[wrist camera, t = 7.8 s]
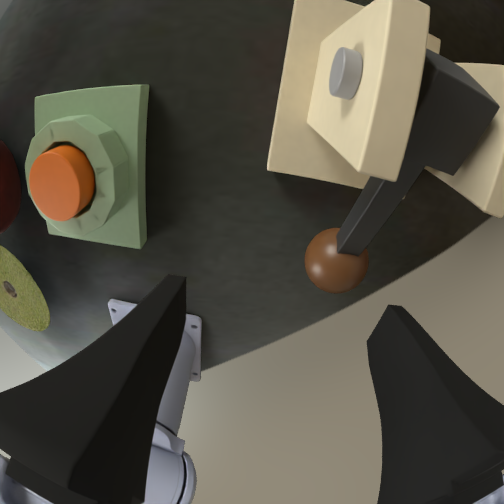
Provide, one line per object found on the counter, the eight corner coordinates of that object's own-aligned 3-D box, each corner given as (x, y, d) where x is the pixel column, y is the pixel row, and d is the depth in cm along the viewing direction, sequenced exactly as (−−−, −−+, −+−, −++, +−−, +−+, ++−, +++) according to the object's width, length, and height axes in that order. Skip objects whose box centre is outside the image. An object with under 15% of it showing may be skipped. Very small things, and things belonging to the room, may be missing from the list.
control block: (147, 240, 18) (130, 266, 16) (57, 226, 18) (34, 246, 15) (149, 84, 13) (125, 85, 10) (45, 94, 13) (15, 101, 10)
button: (98, 213, 14) (84, 225, 13) (49, 207, 14) (34, 218, 13) (94, 144, 12) (77, 151, 11) (42, 145, 12) (25, 153, 11)
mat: (-25, 243, 20) (-36, 252, 18) (18, 217, 18) (4, 228, 16) (22, 320, 25) (15, 331, 24) (77, 317, 23) (68, 331, 22)
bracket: (396, 192, 15) (488, 299, 7) (266, 164, 15) (263, 272, 7) (431, 41, 10) (560, 37, 2) (295, -5, 10) (328, -107, 2)
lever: (351, 253, 16) (354, 305, 14) (298, 245, 16) (296, 298, 14) (467, 68, 6) (519, 123, 4) (384, 28, 5) (427, 66, 4)
